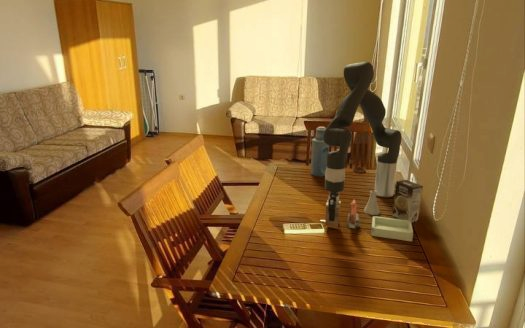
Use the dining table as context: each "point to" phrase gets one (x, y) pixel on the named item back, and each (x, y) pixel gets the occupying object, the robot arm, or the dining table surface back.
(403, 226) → the tray
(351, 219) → the crank
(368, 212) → the flask
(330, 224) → the block
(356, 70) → the robot arm
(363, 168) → the place setting
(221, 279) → the dining table surface
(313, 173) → the bottle
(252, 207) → the dining table surface
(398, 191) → the coffee box
